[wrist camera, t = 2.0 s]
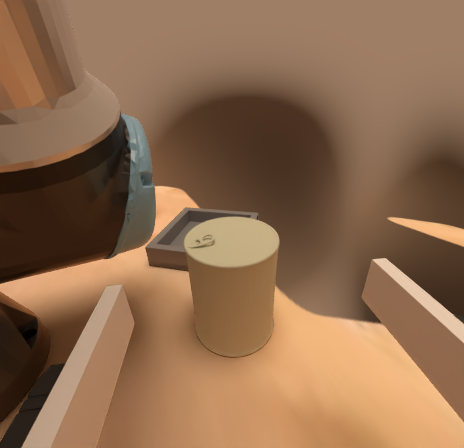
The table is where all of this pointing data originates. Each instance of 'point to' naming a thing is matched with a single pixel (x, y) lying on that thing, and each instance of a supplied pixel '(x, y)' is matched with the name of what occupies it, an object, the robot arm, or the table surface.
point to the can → (232, 283)
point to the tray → (182, 236)
